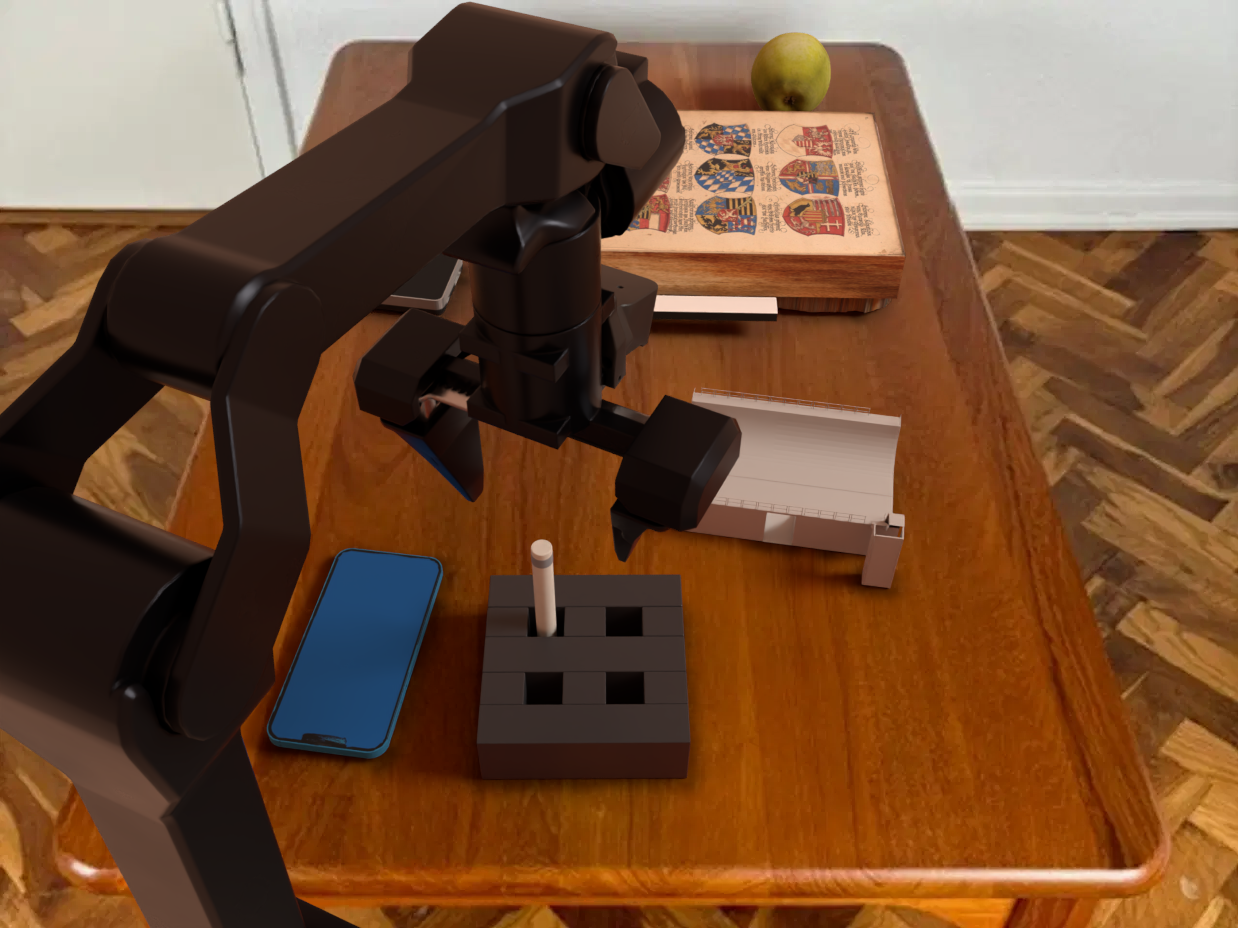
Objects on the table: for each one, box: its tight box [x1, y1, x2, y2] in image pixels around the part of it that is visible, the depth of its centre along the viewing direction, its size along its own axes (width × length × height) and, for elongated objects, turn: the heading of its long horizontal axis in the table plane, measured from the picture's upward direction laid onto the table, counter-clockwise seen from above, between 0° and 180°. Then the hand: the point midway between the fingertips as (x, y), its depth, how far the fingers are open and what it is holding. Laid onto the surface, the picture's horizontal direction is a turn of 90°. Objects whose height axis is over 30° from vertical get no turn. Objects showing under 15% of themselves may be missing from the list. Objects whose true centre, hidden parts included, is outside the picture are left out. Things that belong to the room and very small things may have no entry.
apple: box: [750, 31, 832, 112], centre depth 118 cm, size 8×9×8 cm
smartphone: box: [266, 547, 444, 760], centre depth 75 cm, size 7×1×15 cm
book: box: [601, 109, 907, 322], centre depth 103 cm, size 25×6×28 cm
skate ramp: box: [685, 387, 906, 590], centre depth 82 cm, size 15×13×5 cm
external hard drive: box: [374, 253, 464, 316], centre depth 100 cm, size 7×11×2 cm, turn 81°
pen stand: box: [476, 573, 691, 780], centre depth 72 cm, size 12×12×4 cm
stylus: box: [530, 539, 557, 637], centre depth 71 cm, size 1×1×11 cm
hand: (549, 525), depth 64 cm, fingers open, 9 cm apart
